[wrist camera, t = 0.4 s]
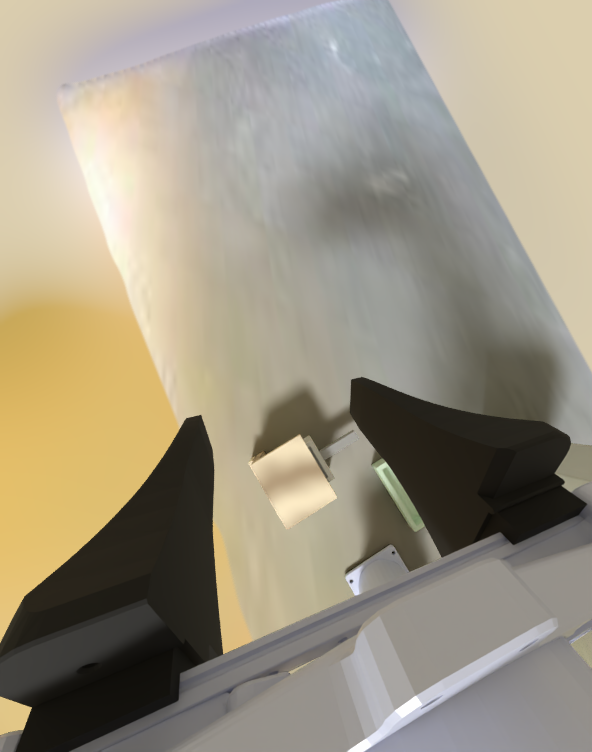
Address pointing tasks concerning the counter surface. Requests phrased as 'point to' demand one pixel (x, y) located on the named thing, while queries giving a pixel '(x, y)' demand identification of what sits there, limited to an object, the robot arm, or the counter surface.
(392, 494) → the tray
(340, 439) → the white block with post
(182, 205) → the counter surface
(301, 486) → the beige block
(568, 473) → the skincare box
